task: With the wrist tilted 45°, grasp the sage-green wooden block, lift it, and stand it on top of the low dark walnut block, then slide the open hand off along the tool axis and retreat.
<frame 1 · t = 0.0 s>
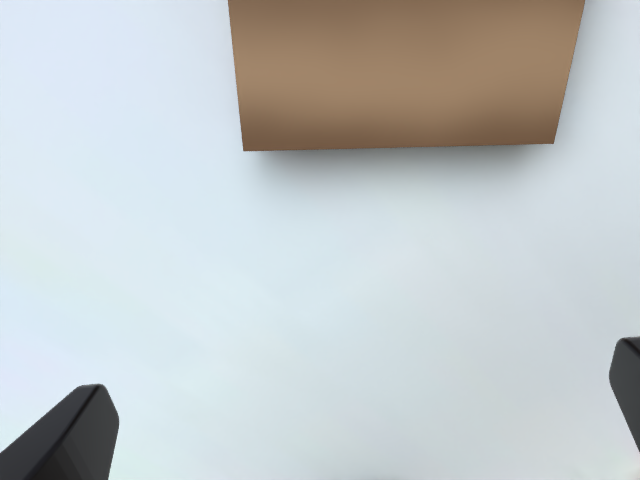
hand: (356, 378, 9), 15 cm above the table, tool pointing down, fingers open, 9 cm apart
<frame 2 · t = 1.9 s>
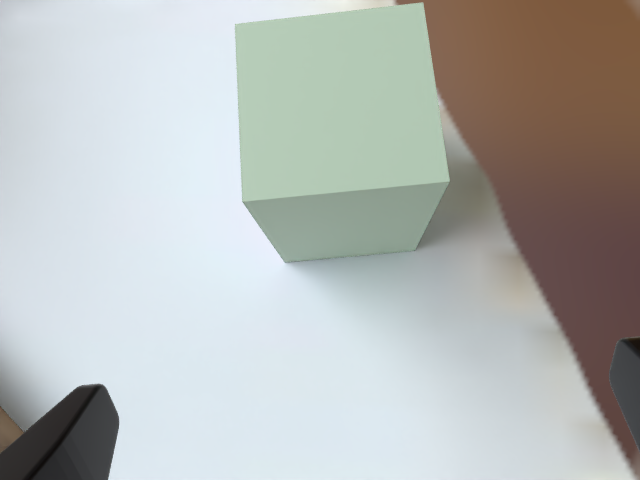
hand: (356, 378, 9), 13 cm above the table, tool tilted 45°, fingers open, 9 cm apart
sage block: (343, 195, 24), on the table
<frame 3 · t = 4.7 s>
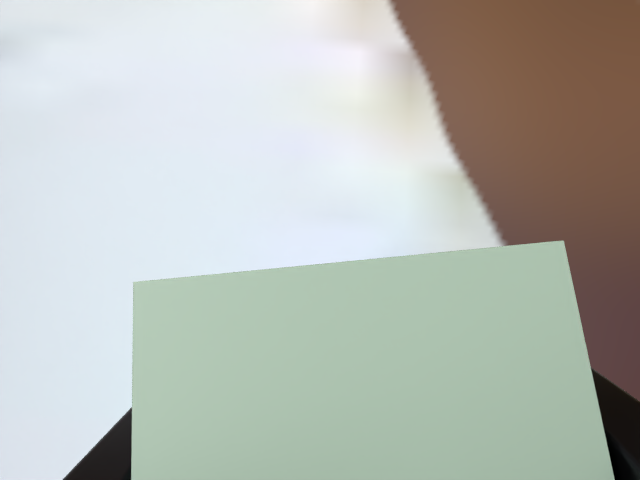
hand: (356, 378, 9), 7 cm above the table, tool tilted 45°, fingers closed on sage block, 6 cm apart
sage block: (361, 423, 15), on the table, touching gripper
when the fingers open (11 cm above the table, at t = 10.8 s): sage block drops 2 cm, point 2 cm above the table.
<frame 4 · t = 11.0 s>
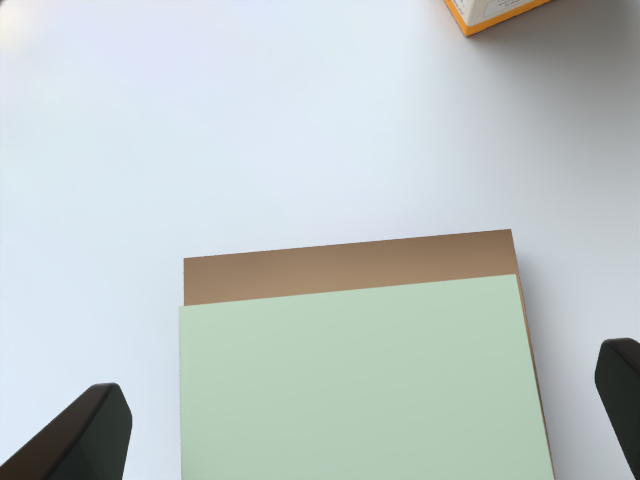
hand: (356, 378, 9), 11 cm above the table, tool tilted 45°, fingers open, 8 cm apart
sage block: (359, 419, 17), point 2 cm above the table
walnut block: (359, 409, 20), on the table
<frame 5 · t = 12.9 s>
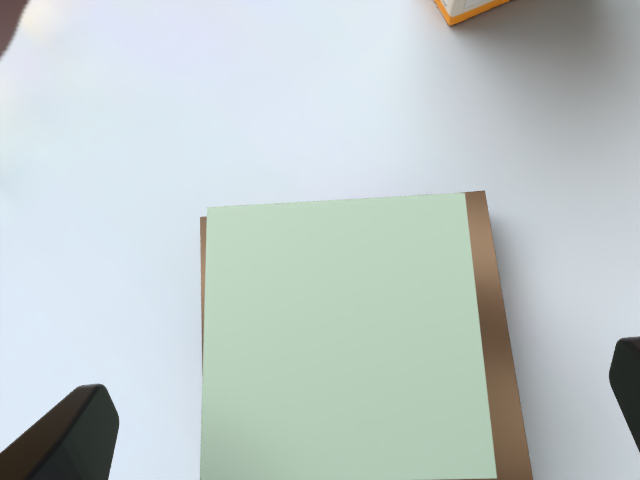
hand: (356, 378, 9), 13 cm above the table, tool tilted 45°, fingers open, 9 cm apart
sage block: (348, 349, 20), point 2 cm above the table
walnut block: (353, 352, 23), on the table
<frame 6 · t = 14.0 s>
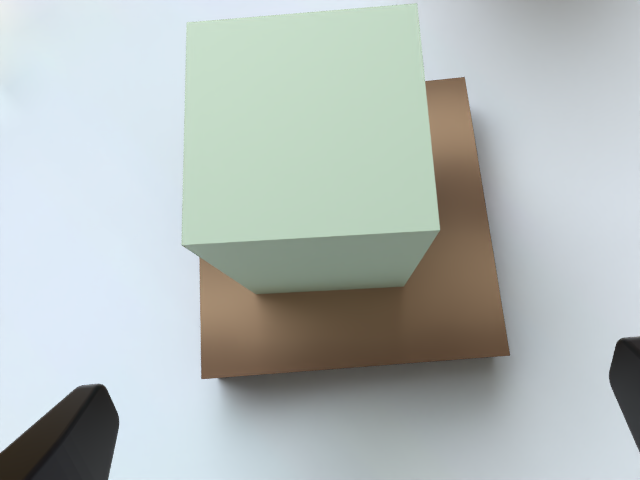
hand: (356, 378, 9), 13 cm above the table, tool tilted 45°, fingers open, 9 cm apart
sage block: (325, 219, 21), point 2 cm above the table, touching walnut block
walnut block: (342, 237, 24), on the table, touching sage block
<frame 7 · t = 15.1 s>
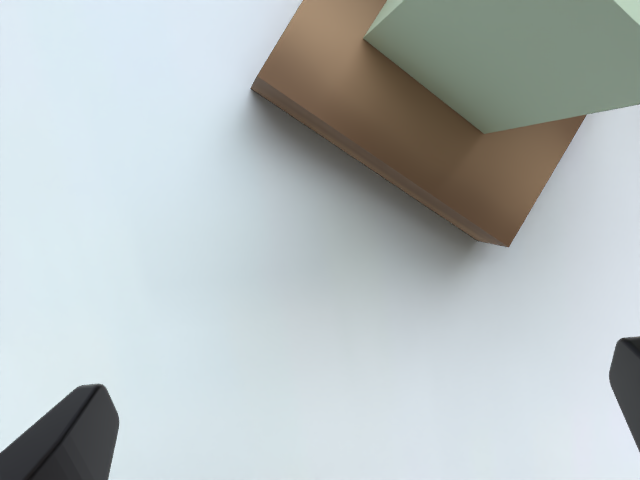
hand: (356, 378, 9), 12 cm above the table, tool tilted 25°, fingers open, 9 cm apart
sage block: (467, 22, 19), point 2 cm above the table
walnut block: (437, 53, 22), on the table
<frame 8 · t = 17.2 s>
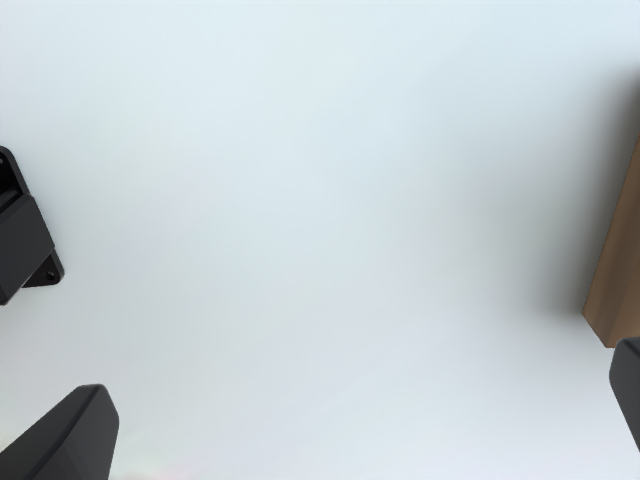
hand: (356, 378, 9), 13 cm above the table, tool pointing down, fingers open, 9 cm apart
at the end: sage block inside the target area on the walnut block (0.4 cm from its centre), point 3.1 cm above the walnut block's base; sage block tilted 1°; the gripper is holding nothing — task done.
